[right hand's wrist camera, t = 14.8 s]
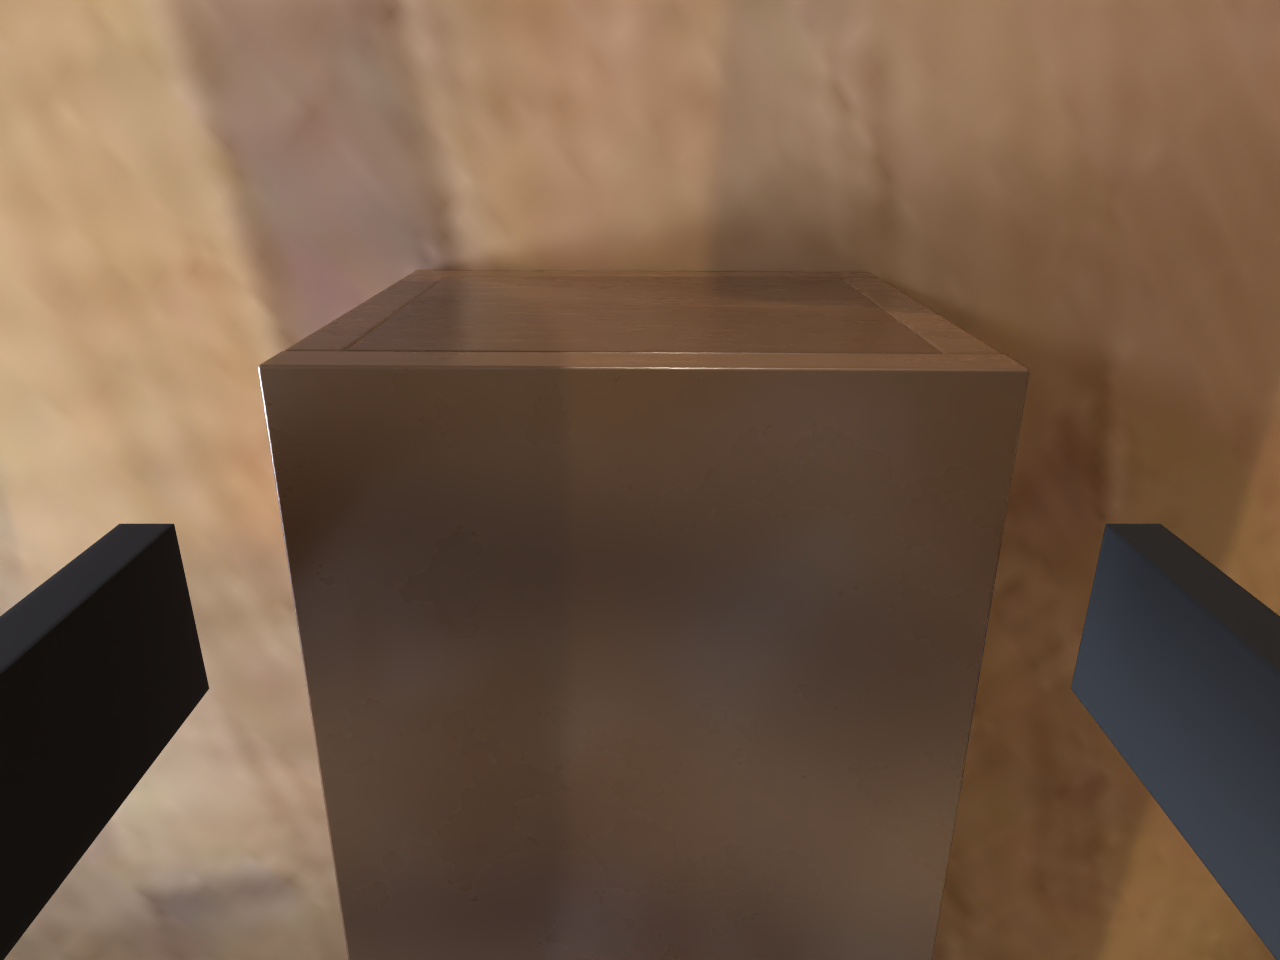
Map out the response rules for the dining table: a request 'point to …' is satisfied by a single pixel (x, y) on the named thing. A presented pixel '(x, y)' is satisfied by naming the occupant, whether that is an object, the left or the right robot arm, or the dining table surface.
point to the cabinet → (642, 608)
